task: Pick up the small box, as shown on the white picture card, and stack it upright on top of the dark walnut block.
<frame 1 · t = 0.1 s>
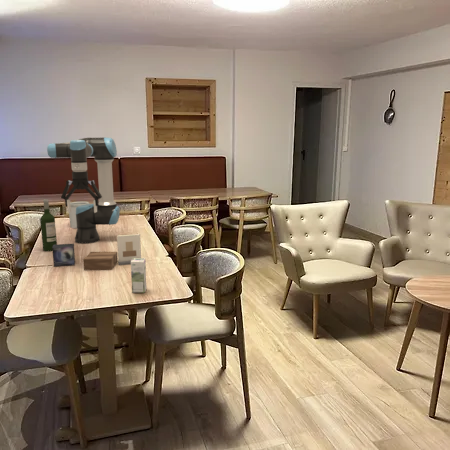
hand: (82, 212, 227), 28 cm above the table, tool pointing down, fingers open, 13 cm apart
picture card: (129, 262, 235), on the table
small box: (64, 264, 232), on the table
wine bottle: (50, 250, 260), on the table
walnut block: (101, 266, 230), on the table
utensil holder: (80, 226, 322), on the table
syrup box: (139, 291, 194), on the table
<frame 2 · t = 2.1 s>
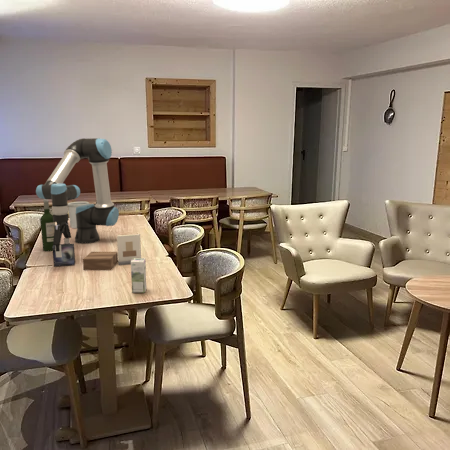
hand: (63, 253, 231), 6 cm above the table, tool pointing down, fingers open, 13 cm apart
nothing on the table moved.
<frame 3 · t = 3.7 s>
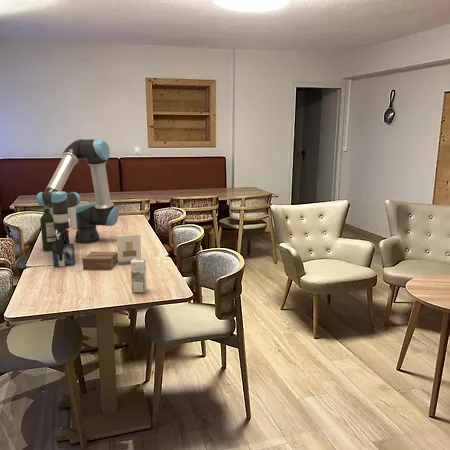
hand: (64, 263, 232), 0 cm above the table, tool pointing down, fingers closed on small box, 7 cm apart
small box: (64, 264, 232), on the table, touching gripper
everything else where it was.
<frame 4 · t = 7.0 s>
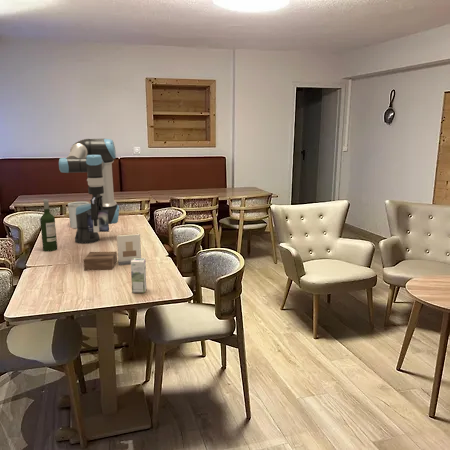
hand: (98, 230, 226), 19 cm above the table, tool pointing down, fingers closed on small box, 7 cm apart
small box: (98, 231, 226), point 18 cm above the table, touching gripper
everything else where it was.
when the fingers open (7 cm above the table, at t = 9.9 s): small box drops 1 cm, resting on walnut block.
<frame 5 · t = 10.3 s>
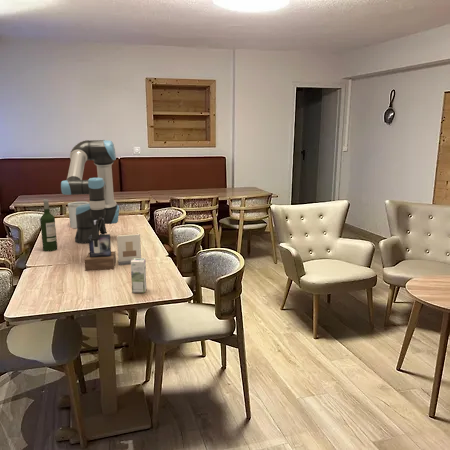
hand: (100, 249, 228), 9 cm above the table, tool pointing down, fingers open, 12 cm apart
small box: (100, 255, 229), point 5 cm above the table, touching walnut block
walnut block: (101, 266, 230), on the table, touching small box
everything else where it was.
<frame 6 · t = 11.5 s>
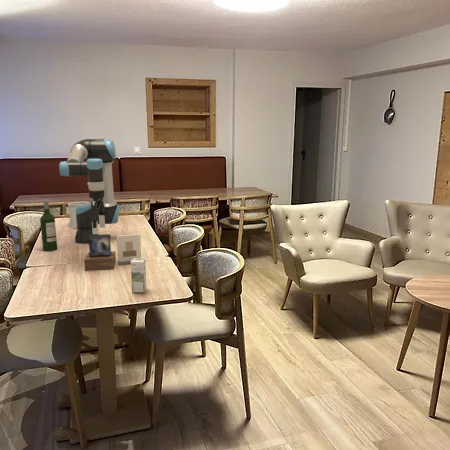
hand: (99, 230, 226), 19 cm above the table, tool pointing down, fingers open, 13 cm apart
nothing on the table moved.
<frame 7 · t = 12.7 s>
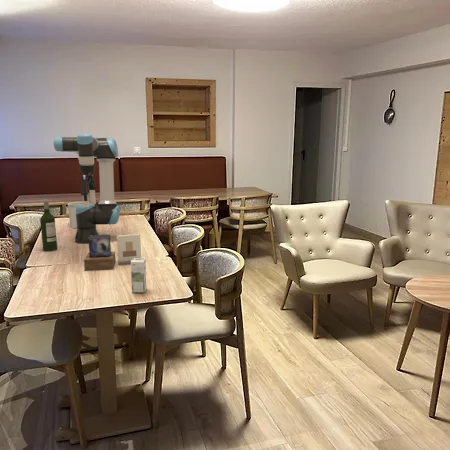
hand: (89, 204, 234), 31 cm above the table, tool pointing down, fingers open, 13 cm apart
nothing on the table moved.
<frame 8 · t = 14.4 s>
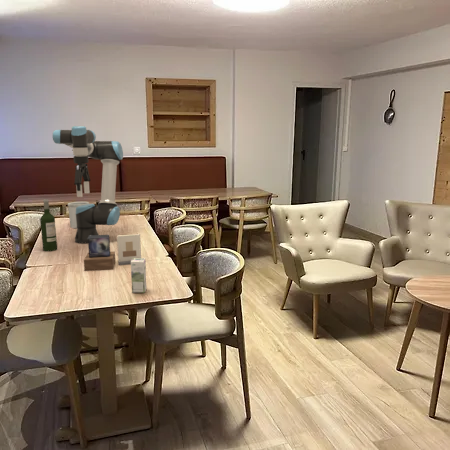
hand: (83, 195, 240), 35 cm above the table, tool pointing down, fingers open, 13 cm apart
nothing on the table moved.
at the end: small box inside the target area on the walnut block (0.1 cm from its centre), point 5.8 cm above the walnut block's base; small box tilted 0°; the gripper is holding nothing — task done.
